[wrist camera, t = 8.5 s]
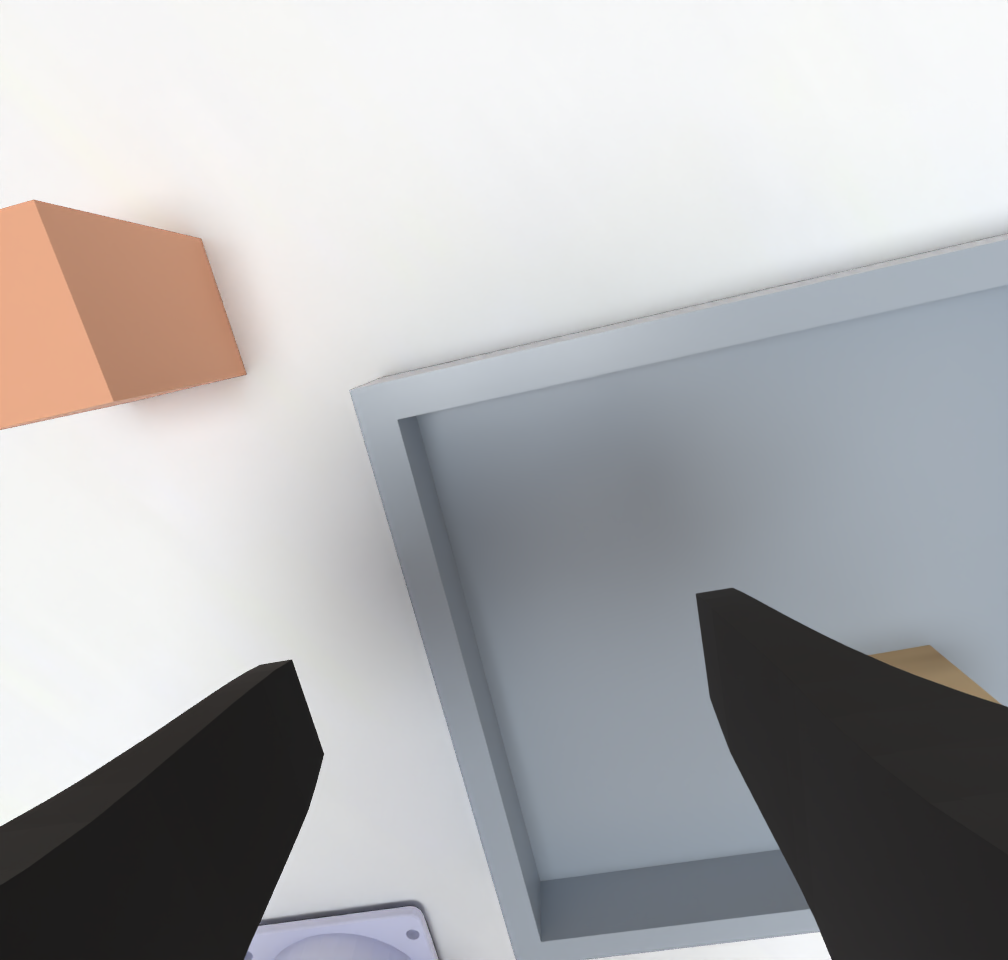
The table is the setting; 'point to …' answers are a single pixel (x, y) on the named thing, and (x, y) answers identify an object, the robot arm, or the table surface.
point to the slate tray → (688, 567)
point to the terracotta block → (103, 314)
